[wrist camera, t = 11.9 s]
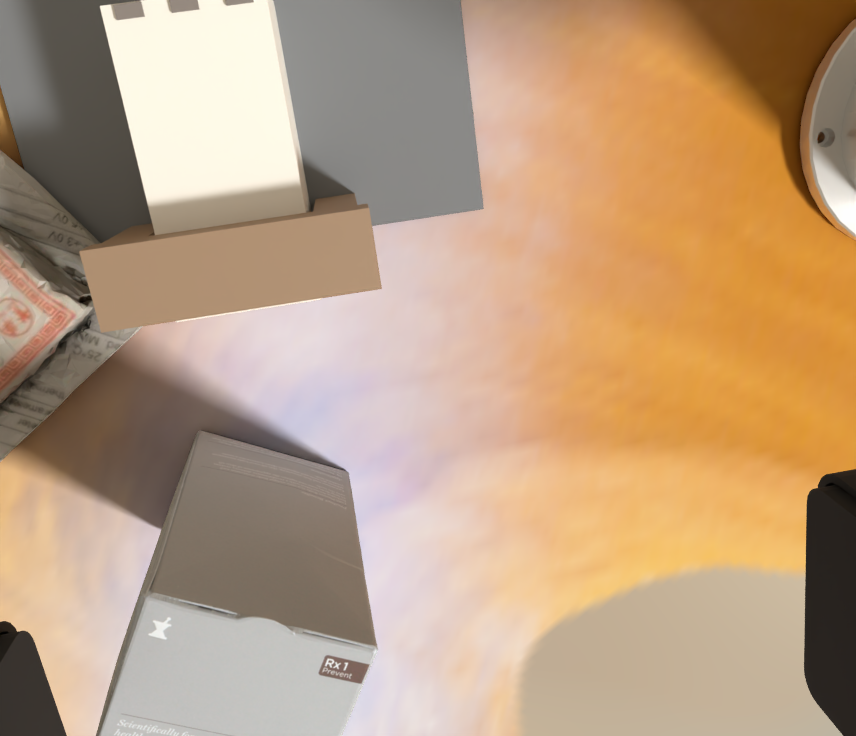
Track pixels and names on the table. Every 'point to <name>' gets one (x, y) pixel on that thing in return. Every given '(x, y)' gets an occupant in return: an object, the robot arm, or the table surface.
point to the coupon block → (218, 174)
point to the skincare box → (247, 604)
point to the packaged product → (43, 307)
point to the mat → (310, 94)
